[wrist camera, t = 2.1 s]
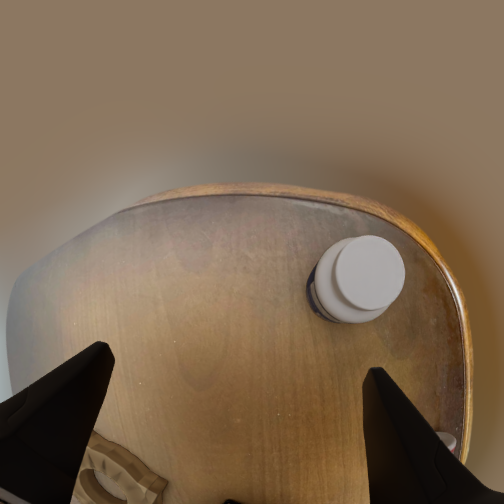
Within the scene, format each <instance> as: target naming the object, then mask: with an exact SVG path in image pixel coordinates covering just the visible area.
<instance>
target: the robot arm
mask: <svg viewBox="0 0 504 504" xmlns="http://www.w3.org/2000/svg"><path fill="white" fill-rule="evenodd" d="M114 364H115V358H114V355H113V353H112V351H111V349H110V347H109V345H108V344H107V343H105V342H101V341H97V342H95V343H93V344H92V345H90V346H89V347H87V348H86V349H84V350H83V351H81V352H80V353H78V354H77V355H75V356H74V357H72V358H71V359H69V360H68V361H66V362H64V363H63V364H61V365H60V366H58V367H57V368H55V369H54V370H52V371H51V372H49V373H48V374H46V375H45V376H43V377H42V378H40V379H39V380H37V381H36V382H34V383H33V384H31V385H30V386H29V387H27V388H25V389H24V390H22V391H21V392H19V393H17V394H16V395H14V396H13V397H11V398H9V399H7V400H6V401H4V402H2V403H0V504H70V502H71V498H72V494H73V491H74V487H75V484H76V480H77V477H78V473H79V470H80V467H81V464H82V460H83V457H84V454H85V451H86V448H87V445H88V442H89V439H90V437H91V434H92V431H93V428H94V425H95V423H96V420H97V417H98V414H99V412H100V409H101V407H102V404H103V401H104V399H105V396H106V392H107V389H108V385H109V382H110V378H111V374H112V371H113V368H114ZM362 393H363V430H364V439H365V448H366V457H367V467H368V479H369V494H370V504H504V493H501V492H497V491H493V490H491V489H489V488H487V487H486V486H484V485H483V484H482V483H481V482H480V481H479V480H478V479H477V478H476V477H475V476H474V475H473V474H472V473H471V472H470V471H469V470H468V469H467V468H466V467H465V466H464V465H463V464H462V463H461V462H460V461H459V460H458V459H457V458H456V457H455V455H454V454H453V453H452V452H451V451H450V449H449V448H448V447H447V446H446V445H445V443H444V442H443V441H442V440H440V437H439V436H438V435H437V433H436V432H435V431H434V430H433V428H432V427H431V426H430V425H429V423H428V422H427V421H426V420H425V418H424V417H423V416H422V415H421V414H420V412H419V411H418V410H417V409H416V407H415V406H414V405H413V404H412V402H411V401H410V400H409V399H408V398H407V396H406V395H405V394H404V393H403V392H402V390H401V389H400V388H399V387H398V385H397V384H396V383H395V382H394V381H393V379H392V378H391V377H390V376H389V375H388V373H387V372H386V371H385V370H384V369H383V368H382V367H372V368H370V369H369V370H368V373H367V375H366V377H365V379H364V382H363V386H362ZM227 503H230V504H240V503H238V502H235V501H233V500H226V501H225V502H224V503H223V504H227Z"/></svg>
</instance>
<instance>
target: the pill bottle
mask: <svg viewBox="0 0 504 504" xmlns="http://www.w3.org/2000/svg"><path fill="white" fill-rule="evenodd" d="M404 279H405V269H404V263H403V260H402V258H401V256H400V254H399V252H398V251H397V249H396V248H395V247H394V246H393V245H392V244H391V243H390V242H388V241H387V240H385V239H383V238H381V237H378V236H372V235H365V236H360V237H353V238H346V239H343V240H341V241H338V242H337V243H335V244H334V245H332V246H331V247H330V248H329V249H328V250H327V251H326V252H325V253H324V254H323V255H322V257H321V258H320V260H319V261H318V263H317V264H316V266H315V267H314V269H313V270H312V272H311V274H310V276H309V278H308V281H307V285H306V297H307V301H308V303H309V305H310V307H311V309H312V310H313V312H314V313H315V314H316V315H317V316H319V317H320V318H322V319H324V320H326V321H329V322H333V323H350V324H357V323H364V322H368V321H371V320H373V319H375V318H377V317H378V316H380V315H381V314H382V313H383V312H384V311H385V310H386V309H387V308H388V306H389V305H390V304H391V303H392V302H393V301H394V300H395V299H396V298H397V297H398V295H399V294H400V292H401V290H402V287H403V284H404Z"/></svg>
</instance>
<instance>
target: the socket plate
mask: <svg viewBox="0 0 504 504" xmlns="http://www.w3.org/2000/svg"><path fill="white" fill-rule="evenodd" d="M93 469H95V470H97V471H99V472H101V473H104V474H105V475H106V476H108V477H109V478H110V479H112V480H113V481H114V482H115V483H116V484H117V485H118V486H119V487H120V488H121V489H122V491H123V493H124V495H125V496H126V498H127V501H123V500H120V499H118V498H115V497H113V496H112V495H110V494H109V493H108V492H106V491H105V490H104V489H103V488H102V487H101V486H100V485H99V483H98V482H97V480H96V478H95V476H94V471H93ZM167 483H168V481H166V480H164V479H163V478H161V477H159V476H158V475H156V474H154V473H153V472H151V471H150V470H149V469H148V468H147V467H146V466H145V465H144V464H143V463H142V462H141V461H140V460H139V459H138V458H137V457H136V456H134V455H133V454H131V453H130V452H128V451H127V450H126V449H124V448H123V447H121V446H120V445H118V444H115V443H112V442H110V441H107V440H105V439H103V438H102V437H101V436H100V435H98V434H97V433H96V432H95V431H94V430H93V431H92V434H91V437H90V439H89V442H88V445H87V448H86V451H85V454H84V457H83V460H82V464H81V467H80V470H79V473H78V477H77V480H76V484H75V487H74V491H73V494H72V495H74V496H75V497H76V498H77V499H78V500H79V502H80V503H81V504H162V491H163V490H164V488H165V486H166V485H167Z"/></svg>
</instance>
